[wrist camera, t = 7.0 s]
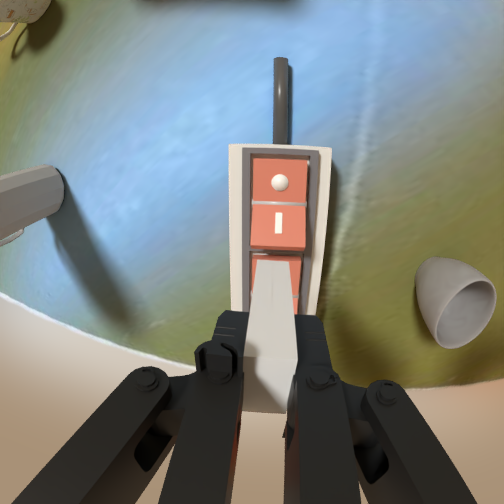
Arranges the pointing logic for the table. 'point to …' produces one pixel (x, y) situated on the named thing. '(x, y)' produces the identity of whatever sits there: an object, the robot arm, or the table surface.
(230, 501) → the robot arm
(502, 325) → the table surface
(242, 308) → the power strip
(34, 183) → the water bottle
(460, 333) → the mug
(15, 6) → the mug
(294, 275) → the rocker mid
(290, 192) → the rocker
